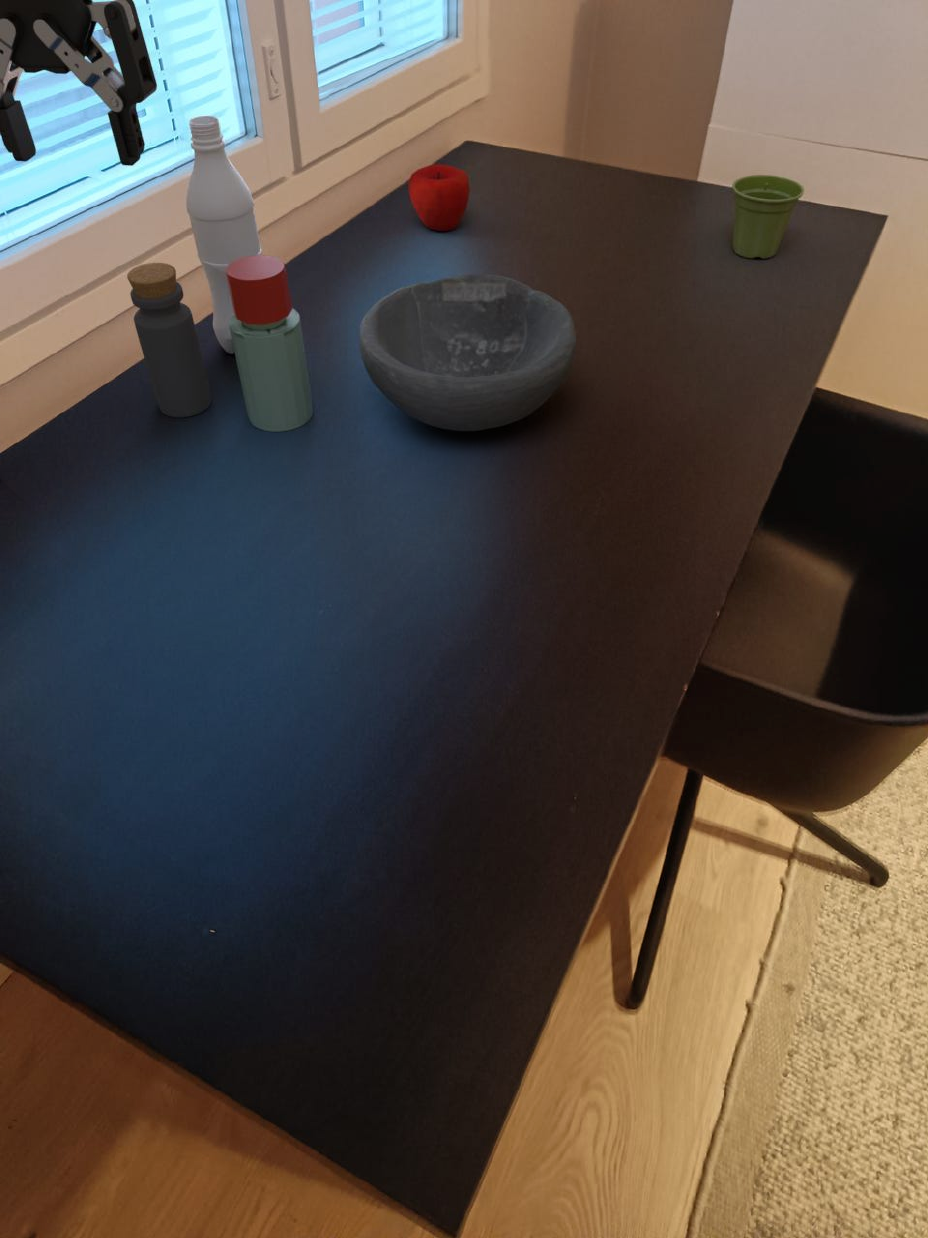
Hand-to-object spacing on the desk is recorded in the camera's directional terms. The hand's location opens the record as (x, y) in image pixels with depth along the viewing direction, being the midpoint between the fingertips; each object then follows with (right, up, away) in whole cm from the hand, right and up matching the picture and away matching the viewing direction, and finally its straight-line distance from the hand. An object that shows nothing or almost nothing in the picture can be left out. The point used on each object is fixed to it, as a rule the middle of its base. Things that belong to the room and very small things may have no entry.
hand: (78, 160), depth 68 cm
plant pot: (+71, +17, +58) cm, 93 cm away
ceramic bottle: (+9, -13, +30) cm, 34 cm away
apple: (+26, +23, +65) cm, 74 cm away
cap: (+9, -4, +21) cm, 24 cm away
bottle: (-2, -11, +31) cm, 33 cm away
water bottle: (+3, -2, +40) cm, 41 cm away
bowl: (+30, -11, +31) cm, 45 cm away
